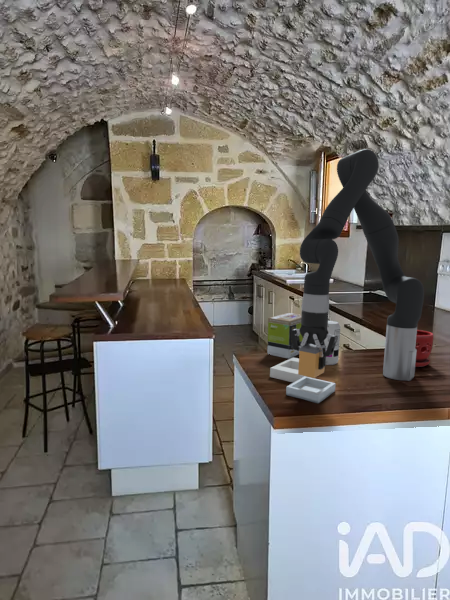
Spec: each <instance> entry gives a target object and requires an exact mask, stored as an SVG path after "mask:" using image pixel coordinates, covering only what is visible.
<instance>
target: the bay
mask: <svg viewBox="0 0 450 600" xmlns="http://www.w3.org/2000/svg"><path fill="white" fill-rule="evenodd" d="M269 369H270V370H269V377H270V378H274V379H278V380H281V381H285V382H289V383H294V382H295V381H297V380H299V379H301V378H302V377H304V376H303V375H299V374H298V369H299V358H298V357H295V356H294V357H291V358H289V359H288V358H287V360H284V361H282V362H280V363H278V364H275V365H274V366H272V367H269Z"/></svg>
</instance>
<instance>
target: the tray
mask: <svg viewBox="0 0 450 600" xmlns="http://www.w3.org/2000/svg"><path fill="white" fill-rule="evenodd" d="M285 389H286V390H285V391H286V392H285V395H286V396H289V397H293V398H296V399H300V400H305V401H308V402H310V403H311V402H312V403H315V404H320V403H321V402H322V401H324V400H325V399H327V398H328V397H330V396H331V395H332V394H334V392H336V382H332V381H327V380H323V379H318V378H316V377H315V378H312V377H307V376H304V377H302V378H301V379H299V380H297V381H295V382H294V383H293V382H291V383H290V384H289V385H287V386H286V388H285Z"/></svg>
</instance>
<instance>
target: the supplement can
mask: <svg viewBox="0 0 450 600" xmlns="http://www.w3.org/2000/svg"><path fill="white" fill-rule="evenodd" d="M327 330H328V333H329V334H331V335H337V336H338V339H337V342H336V345H335V348H334V351H333V354H332V355H330V356H326V363H325V366H334V365H336V364H338V363H339V358H340V357H339V356H340V355H339V354H340V341H341V340H340V339H341V325H340V322H338V321H336V320H331V319H328V327H327ZM324 342H325V346H326V350H327V347H328V344H329V342H328V338H326V339H325V340H324Z"/></svg>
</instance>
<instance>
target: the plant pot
mask: <svg viewBox="0 0 450 600" xmlns="http://www.w3.org/2000/svg"><path fill="white" fill-rule="evenodd" d="M433 344H434V333H433V332H430V331H427V330H422V329H417V334H416V345H415V349H417V352H416V363H415V368H419V367H421V368H422V367H425V366H428V365H429V364H430V363H431V359H429V357H430V355H431V353H432V349H433Z"/></svg>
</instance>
